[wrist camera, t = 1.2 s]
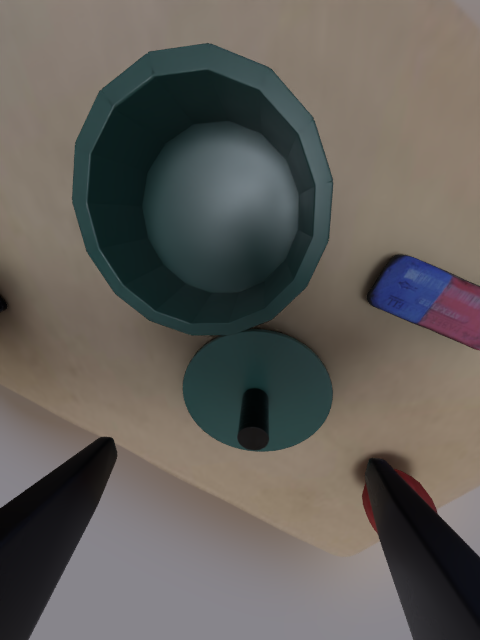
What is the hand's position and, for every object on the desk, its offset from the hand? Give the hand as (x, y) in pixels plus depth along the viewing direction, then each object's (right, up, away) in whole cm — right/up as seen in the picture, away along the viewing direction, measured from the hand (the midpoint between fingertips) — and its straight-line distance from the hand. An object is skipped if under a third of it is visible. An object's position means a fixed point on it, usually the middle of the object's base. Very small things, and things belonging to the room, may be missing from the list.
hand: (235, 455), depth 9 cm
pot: (-1, +12, +9) cm, 15 cm away
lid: (+2, -2, +14) cm, 15 cm away
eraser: (+15, +6, +10) cm, 19 cm away
